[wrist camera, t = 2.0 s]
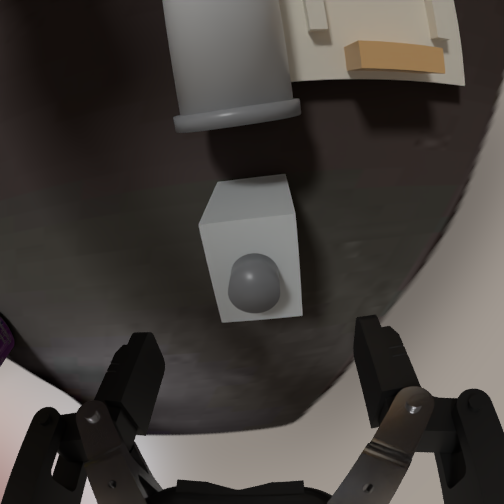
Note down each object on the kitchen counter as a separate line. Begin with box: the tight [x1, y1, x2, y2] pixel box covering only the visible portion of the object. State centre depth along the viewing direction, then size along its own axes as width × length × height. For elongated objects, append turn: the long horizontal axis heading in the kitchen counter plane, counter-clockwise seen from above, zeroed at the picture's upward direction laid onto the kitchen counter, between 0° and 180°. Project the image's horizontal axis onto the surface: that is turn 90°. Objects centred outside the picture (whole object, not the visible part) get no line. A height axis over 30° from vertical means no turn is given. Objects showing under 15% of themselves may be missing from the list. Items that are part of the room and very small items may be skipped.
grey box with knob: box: [199, 174, 303, 323], centre depth 18 cm, size 6×4×9 cm
